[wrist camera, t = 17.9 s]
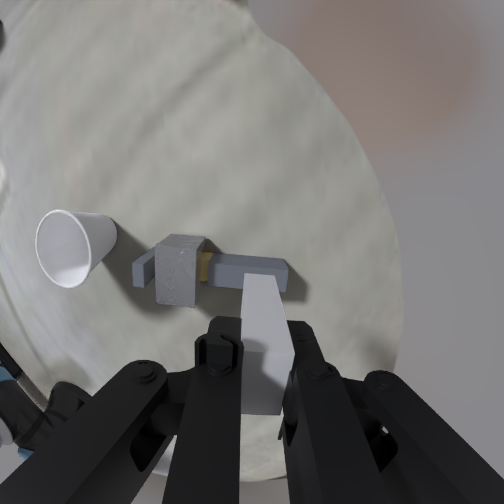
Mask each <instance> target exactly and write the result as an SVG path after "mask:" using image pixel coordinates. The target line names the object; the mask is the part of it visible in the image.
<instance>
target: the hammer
mask: <svg viewBox="0 0 504 504" xmlns="http://www.w3.org/2000/svg"><path fill="white" fill-rule="evenodd" d="M245 273H250V274H261V275H273V276H275V279H276V282H277V286H278V290H279V292H286V287H287V280H288V273H289V269H288V267H287V265H286V262H285V260H284V259H278V258H267V257H256V256H244V255H233V254H222V253H211V252H202V255H201V280H200V281H208V284H207V286H216V287H227V288H238V289H243V285H244V274H245ZM132 275H133V286H134V287H141V288H144V287H145V286H146V285H147V284H148V283H149V282H150V281H151V280H152V279H153V278H154V277H155V247H153V248H152V249H150V250H149V251H148V252H146V253H145V254H144V255H142V256H141V257H140V258H138V259H137V260H136V261H134V262H133V263H132Z"/></svg>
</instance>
